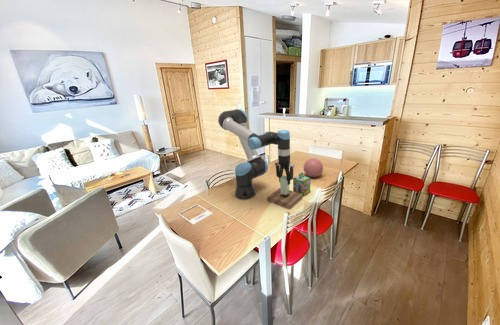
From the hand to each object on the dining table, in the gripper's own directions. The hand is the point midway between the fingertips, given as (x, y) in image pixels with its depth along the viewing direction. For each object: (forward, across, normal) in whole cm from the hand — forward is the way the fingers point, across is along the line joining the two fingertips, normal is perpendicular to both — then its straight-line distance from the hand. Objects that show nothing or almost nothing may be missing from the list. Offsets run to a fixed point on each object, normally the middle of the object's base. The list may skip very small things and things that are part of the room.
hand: (284, 187), depth 142 cm
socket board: (+10, 0, 0) cm, 10 cm away
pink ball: (+10, -2, +48) cm, 49 cm away
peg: (+4, 0, 0) cm, 4 cm away
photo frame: (+10, -37, -48) cm, 62 cm away
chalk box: (+10, +4, +16) cm, 19 cm away
